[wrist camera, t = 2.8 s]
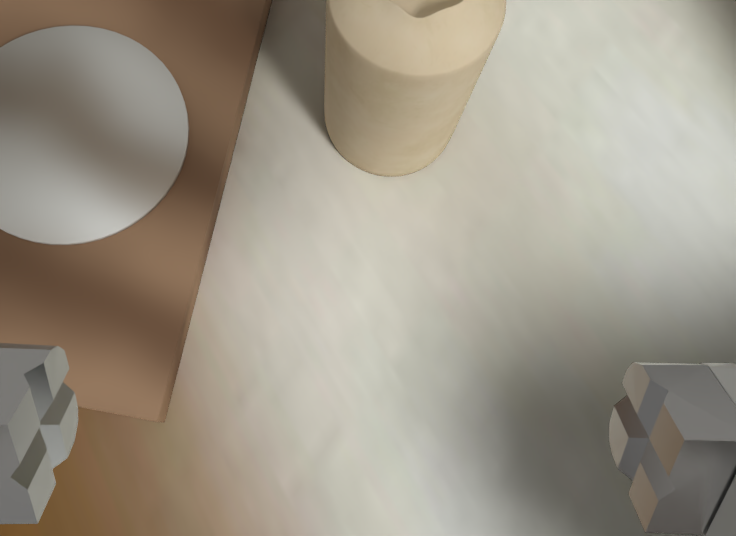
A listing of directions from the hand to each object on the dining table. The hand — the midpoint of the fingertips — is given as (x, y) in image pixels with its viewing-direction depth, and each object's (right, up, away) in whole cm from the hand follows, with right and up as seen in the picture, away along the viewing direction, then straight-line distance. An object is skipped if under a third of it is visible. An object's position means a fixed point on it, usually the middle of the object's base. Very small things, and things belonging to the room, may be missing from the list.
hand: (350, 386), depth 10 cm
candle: (+1, +8, +19) cm, 21 cm away
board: (-11, +7, +18) cm, 22 cm away
